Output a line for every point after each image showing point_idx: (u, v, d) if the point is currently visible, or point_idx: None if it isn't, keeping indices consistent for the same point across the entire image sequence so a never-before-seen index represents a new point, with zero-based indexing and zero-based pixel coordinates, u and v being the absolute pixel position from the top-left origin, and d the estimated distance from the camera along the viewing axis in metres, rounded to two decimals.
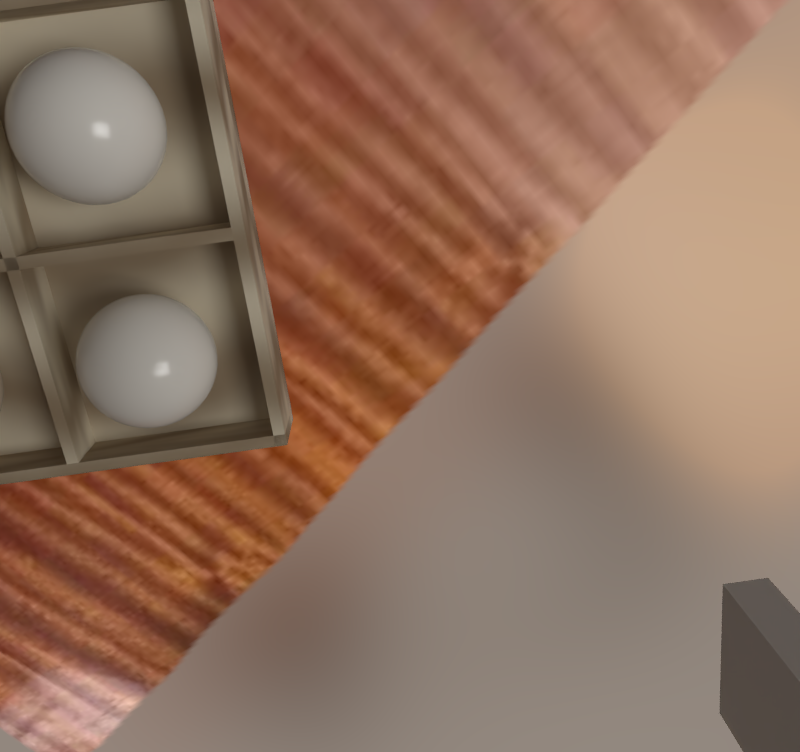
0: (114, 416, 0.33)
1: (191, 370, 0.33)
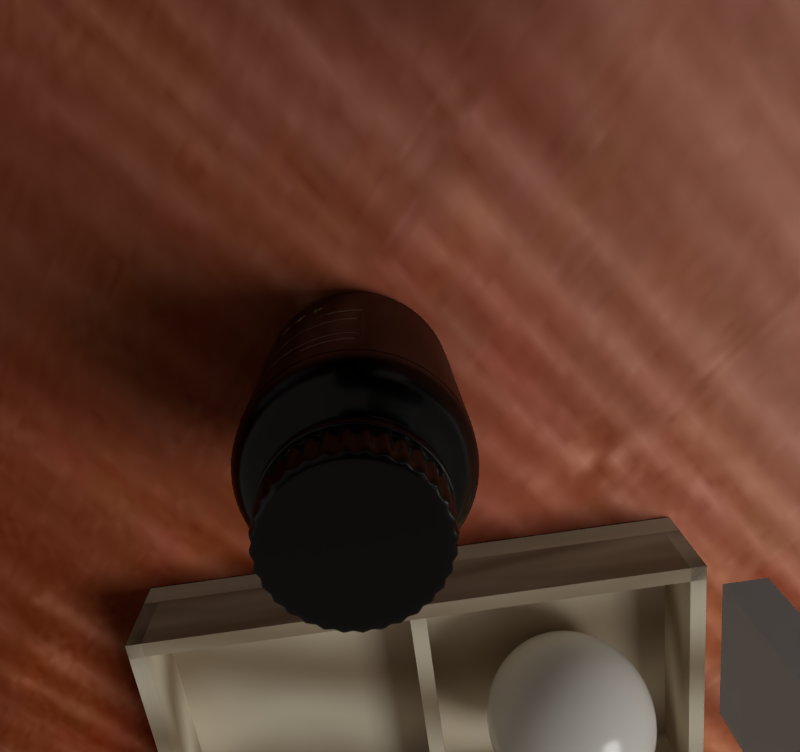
0: None
1: None
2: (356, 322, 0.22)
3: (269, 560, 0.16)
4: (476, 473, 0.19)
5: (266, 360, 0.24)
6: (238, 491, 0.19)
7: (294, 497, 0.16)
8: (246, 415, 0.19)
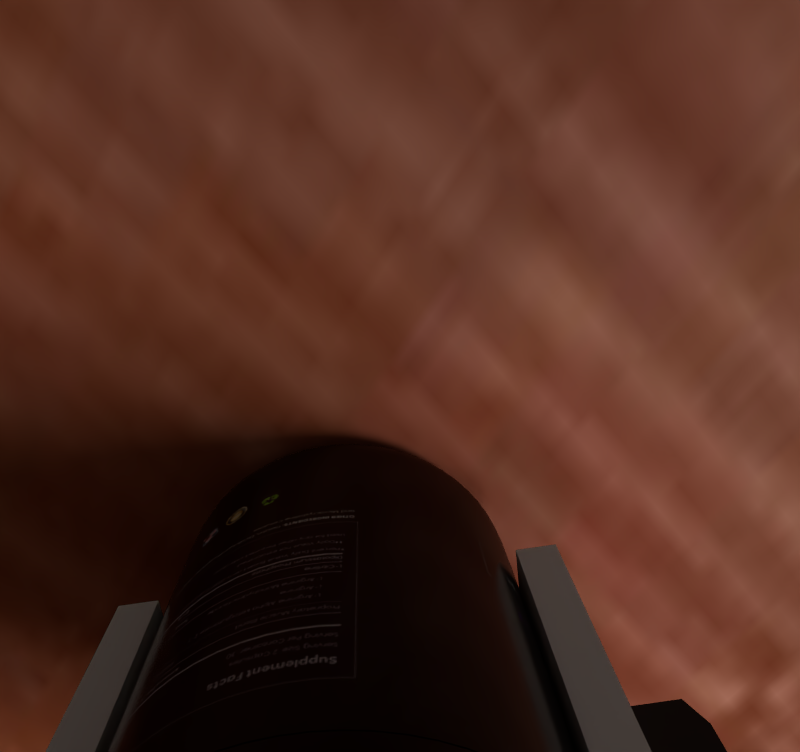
0: None
1: None
2: (342, 574, 0.10)
3: None
4: None
5: (173, 593, 0.13)
6: None
7: None
8: None
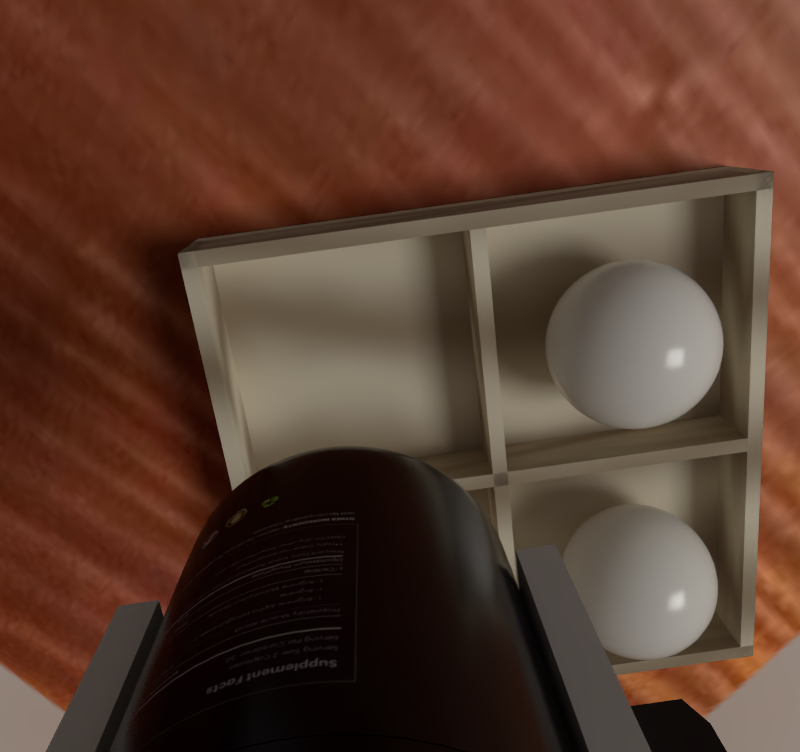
0: (625, 654, 0.29)
1: (715, 603, 0.29)
2: (341, 577, 0.10)
3: None
4: None
5: None
6: None
7: None
8: None
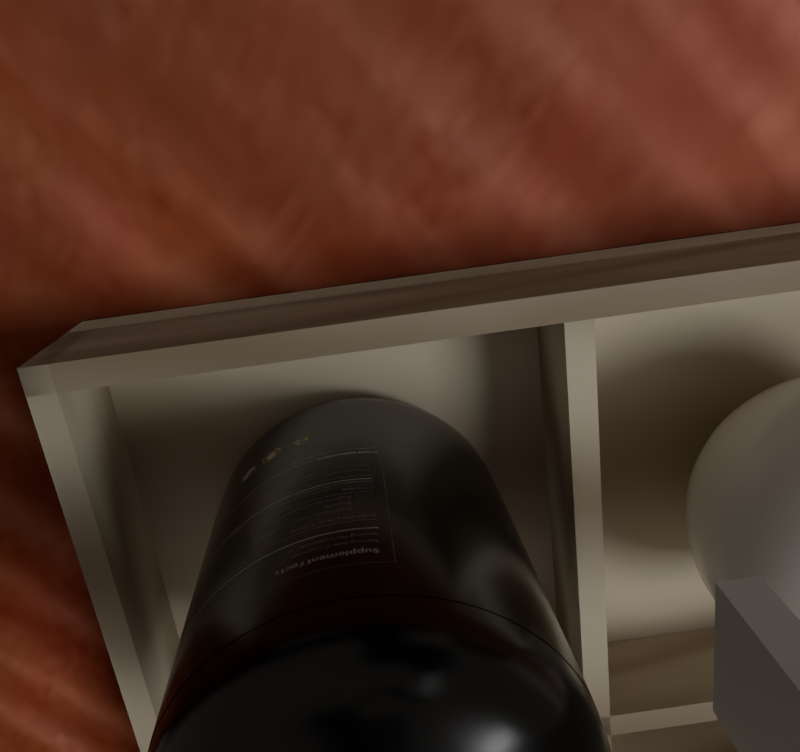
0: None
1: None
2: (373, 492, 0.12)
3: None
4: None
5: (216, 521, 0.15)
6: None
7: None
8: (165, 733, 0.09)
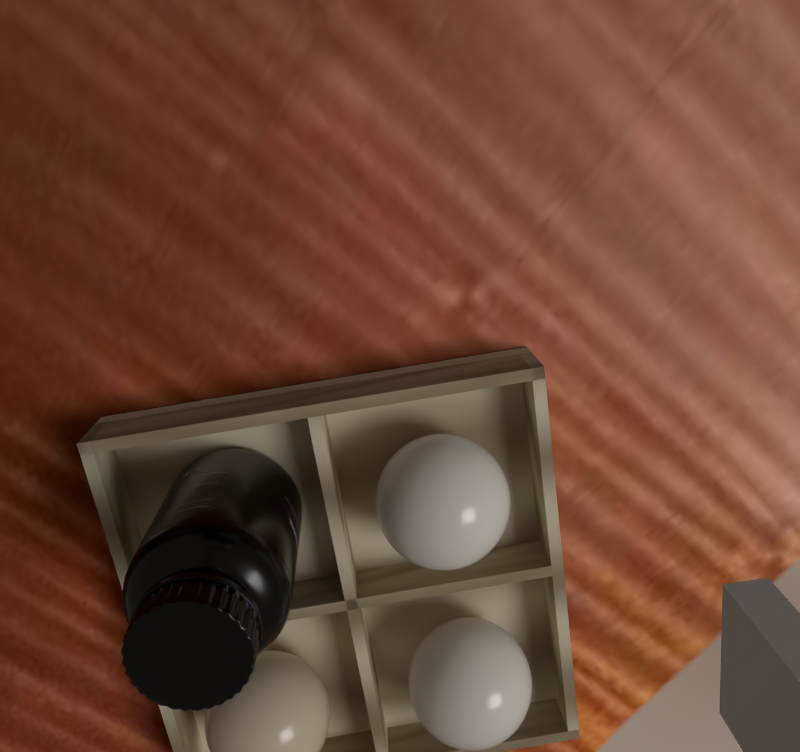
0: (454, 747, 0.36)
1: (525, 704, 0.36)
2: (216, 487, 0.32)
3: (134, 667, 0.26)
4: (286, 599, 0.29)
5: None
6: (126, 613, 0.29)
7: (148, 629, 0.26)
8: (131, 562, 0.29)
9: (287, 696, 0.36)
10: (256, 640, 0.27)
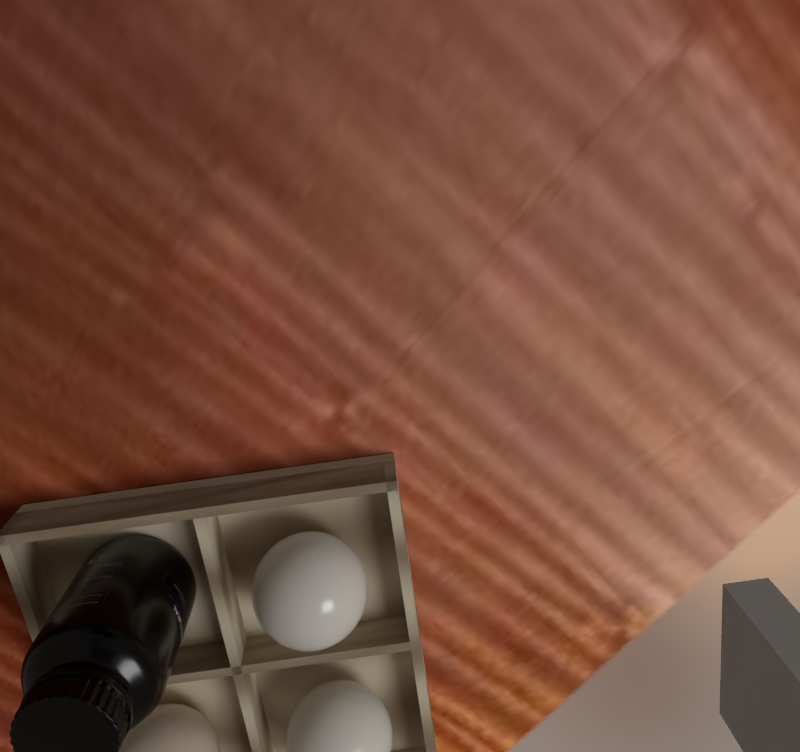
0: None
1: None
2: (109, 581, 0.37)
3: (20, 746, 0.32)
4: (158, 683, 0.35)
5: None
6: (23, 692, 0.35)
7: (31, 717, 0.31)
8: (28, 651, 0.35)
9: (177, 749, 0.42)
10: (123, 725, 0.33)
